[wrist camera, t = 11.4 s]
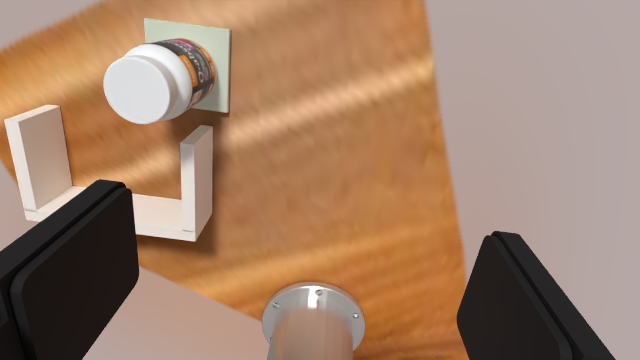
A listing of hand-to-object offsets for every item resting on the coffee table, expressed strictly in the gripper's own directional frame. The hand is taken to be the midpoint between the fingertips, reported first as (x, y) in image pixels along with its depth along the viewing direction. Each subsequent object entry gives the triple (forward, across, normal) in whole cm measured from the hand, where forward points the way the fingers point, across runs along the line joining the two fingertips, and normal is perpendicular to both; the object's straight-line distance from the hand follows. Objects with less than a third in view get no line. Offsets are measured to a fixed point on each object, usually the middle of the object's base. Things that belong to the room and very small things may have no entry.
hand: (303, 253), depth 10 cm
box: (+28, +19, +12) cm, 36 cm away
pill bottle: (+28, +13, +1) cm, 31 cm away
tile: (+28, +13, +1) cm, 31 cm away
